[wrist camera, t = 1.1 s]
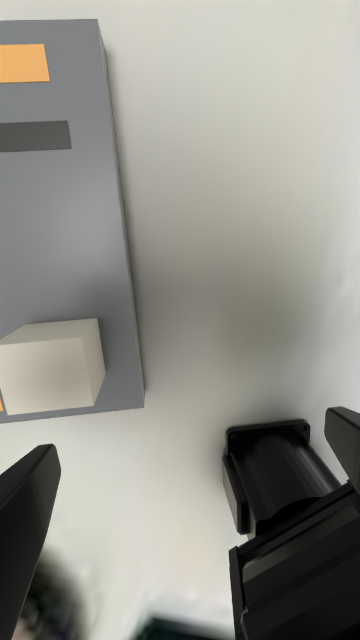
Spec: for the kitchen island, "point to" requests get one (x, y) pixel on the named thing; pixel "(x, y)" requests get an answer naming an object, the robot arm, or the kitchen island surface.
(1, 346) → the cream cube
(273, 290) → the kitchen island surface
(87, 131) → the switch panel
